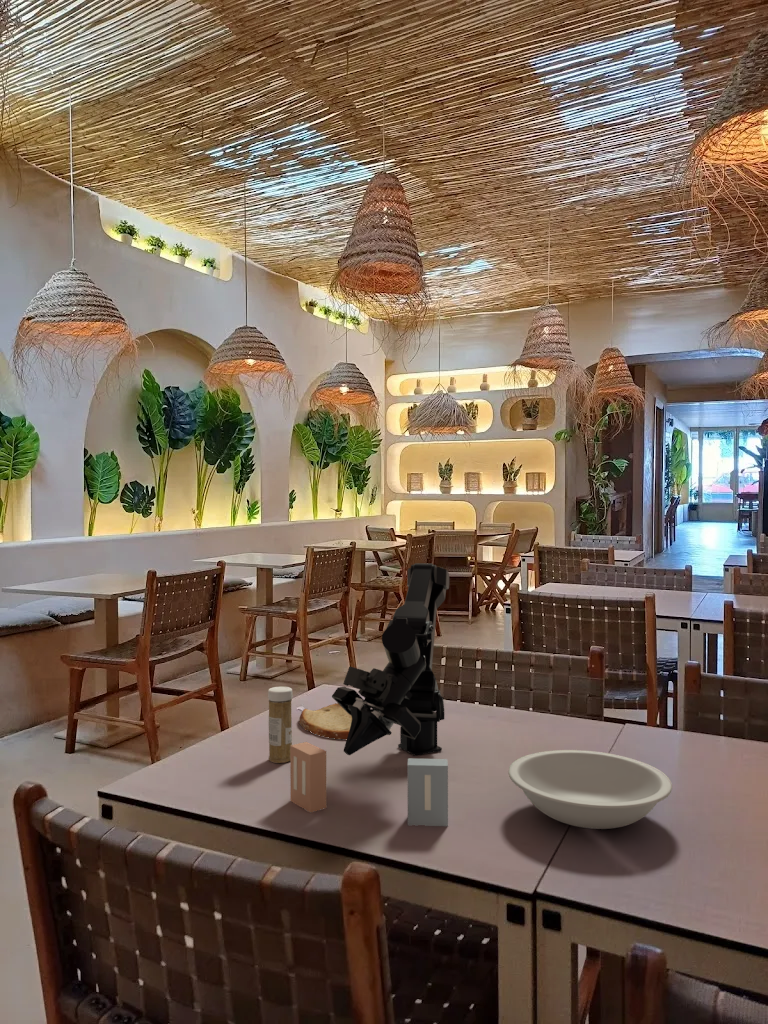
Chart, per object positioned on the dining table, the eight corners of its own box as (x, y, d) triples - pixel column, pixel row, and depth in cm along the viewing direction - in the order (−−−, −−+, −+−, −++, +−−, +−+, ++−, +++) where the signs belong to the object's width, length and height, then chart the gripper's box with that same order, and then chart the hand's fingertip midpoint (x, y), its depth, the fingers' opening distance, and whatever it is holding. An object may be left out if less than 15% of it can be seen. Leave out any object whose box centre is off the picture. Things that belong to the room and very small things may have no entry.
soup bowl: (622, 784, 127) (622, 745, 127) (706, 847, 104) (706, 799, 104) (488, 793, 123) (488, 753, 123) (543, 860, 99) (543, 811, 99)
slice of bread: (359, 743, 151) (359, 725, 151) (278, 735, 156) (278, 718, 156) (385, 719, 168) (385, 703, 168) (312, 713, 173) (312, 697, 173)
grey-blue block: (408, 816, 114) (408, 758, 114) (447, 817, 113) (447, 758, 113) (407, 825, 110) (407, 765, 110) (448, 826, 110) (447, 766, 110)
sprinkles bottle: (296, 761, 139) (296, 689, 139) (274, 765, 136) (274, 692, 136) (285, 754, 143) (285, 684, 143) (264, 758, 140) (263, 687, 140)
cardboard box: (307, 796, 122) (307, 741, 122) (327, 807, 117) (327, 751, 117) (289, 801, 120) (289, 745, 120) (309, 813, 115) (309, 755, 115)
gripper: (340, 641, 134) (287, 712, 127) (406, 657, 119) (350, 739, 112) (375, 678, 138) (326, 749, 132) (443, 698, 124) (391, 779, 117)
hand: (346, 753), depth 123 cm, fingers closed
